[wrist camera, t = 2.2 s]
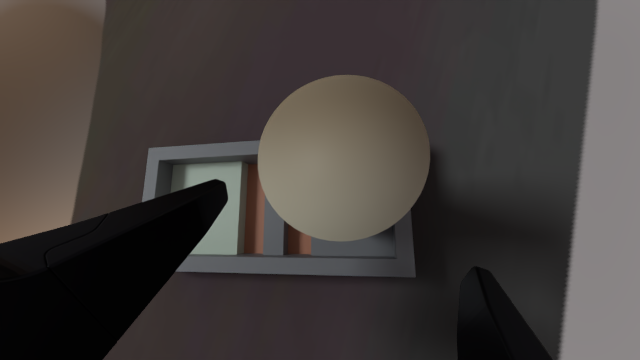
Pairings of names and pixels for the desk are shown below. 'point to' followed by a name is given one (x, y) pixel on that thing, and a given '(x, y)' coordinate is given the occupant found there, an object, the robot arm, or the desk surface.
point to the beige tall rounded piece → (343, 158)
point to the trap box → (266, 222)
